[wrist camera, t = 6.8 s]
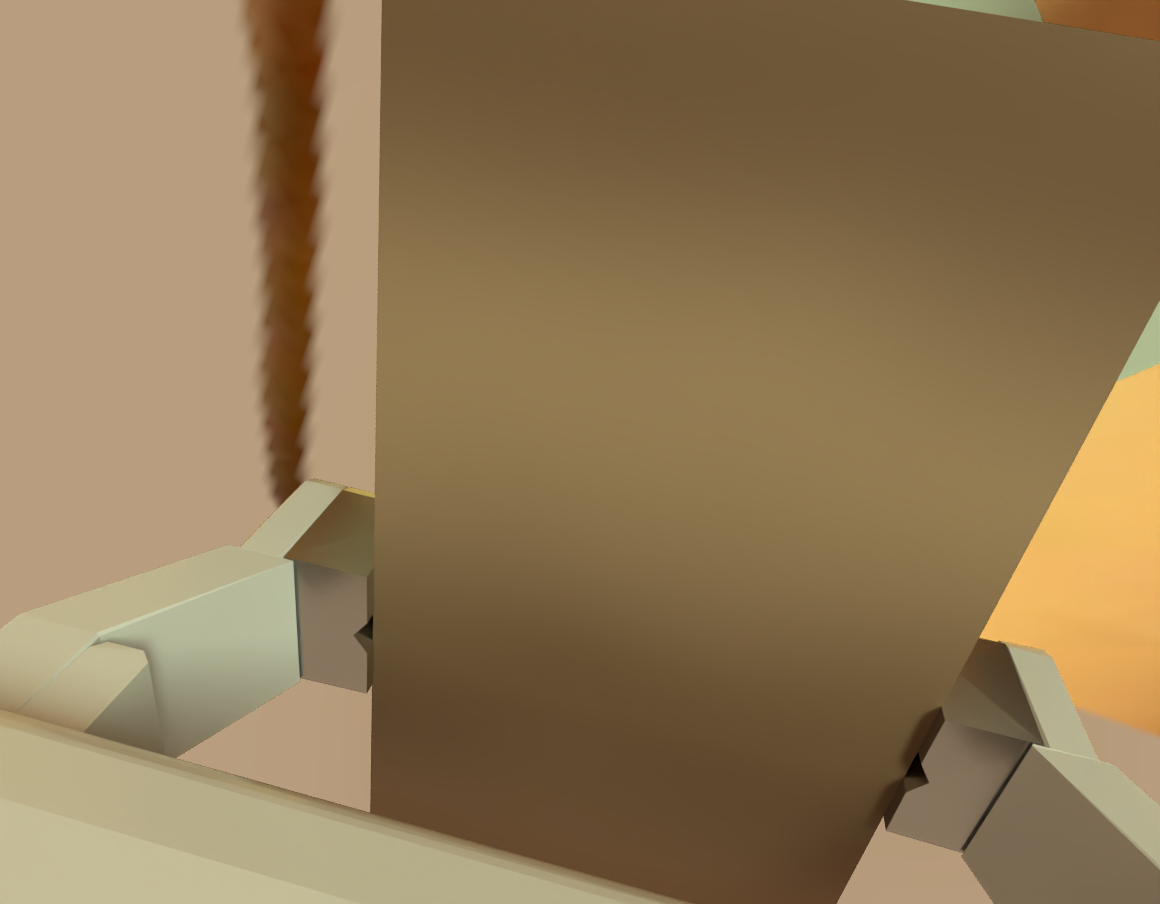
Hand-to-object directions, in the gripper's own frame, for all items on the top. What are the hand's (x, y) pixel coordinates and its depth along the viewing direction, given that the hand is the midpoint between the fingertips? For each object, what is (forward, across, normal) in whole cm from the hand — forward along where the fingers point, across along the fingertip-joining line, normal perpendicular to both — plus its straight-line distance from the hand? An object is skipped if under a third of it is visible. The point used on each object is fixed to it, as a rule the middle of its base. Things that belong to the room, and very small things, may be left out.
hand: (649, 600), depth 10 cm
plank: (+2, 0, 0) cm, 2 cm away
